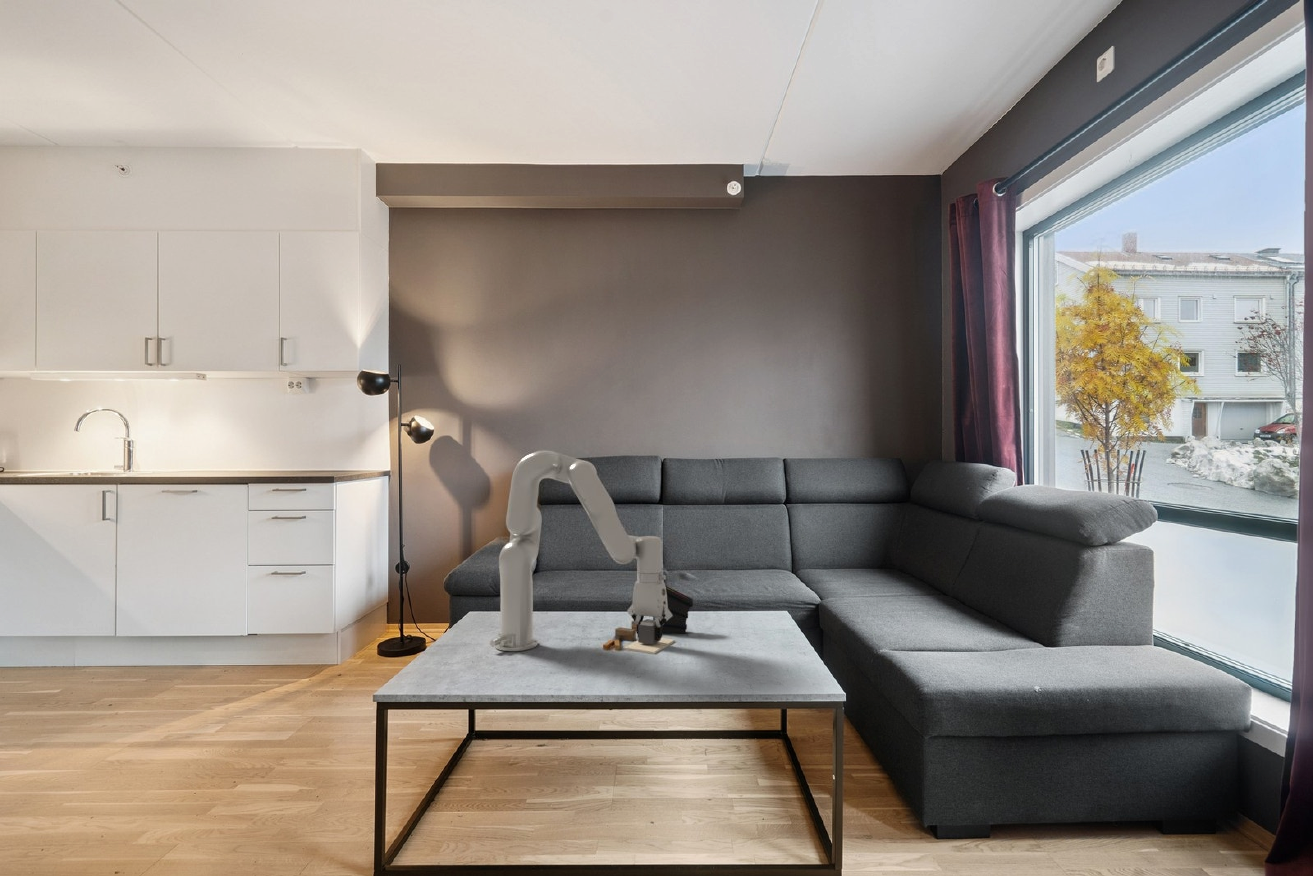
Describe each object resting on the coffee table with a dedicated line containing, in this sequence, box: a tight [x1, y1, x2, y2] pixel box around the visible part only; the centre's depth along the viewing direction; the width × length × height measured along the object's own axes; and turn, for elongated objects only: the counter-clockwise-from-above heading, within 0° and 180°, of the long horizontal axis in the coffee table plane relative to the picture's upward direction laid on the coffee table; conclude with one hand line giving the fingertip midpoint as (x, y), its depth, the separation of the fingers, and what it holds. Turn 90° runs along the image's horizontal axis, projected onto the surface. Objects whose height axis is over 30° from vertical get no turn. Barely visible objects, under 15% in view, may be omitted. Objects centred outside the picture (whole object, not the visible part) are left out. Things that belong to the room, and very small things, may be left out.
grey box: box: [637, 618, 661, 644], centre depth 196 cm, size 5×5×6 cm
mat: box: [623, 637, 676, 655], centre depth 195 cm, size 14×10×1 cm
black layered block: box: [652, 585, 694, 635], centre depth 210 cm, size 4×13×15 cm, turn 87°
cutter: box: [602, 635, 622, 651], centre depth 196 cm, size 11×5×1 cm, turn 173°
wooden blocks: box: [614, 620, 637, 642], centre depth 207 cm, size 13×6×3 cm, turn 153°
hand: (649, 637), depth 195 cm, fingers open, 5 cm apart
